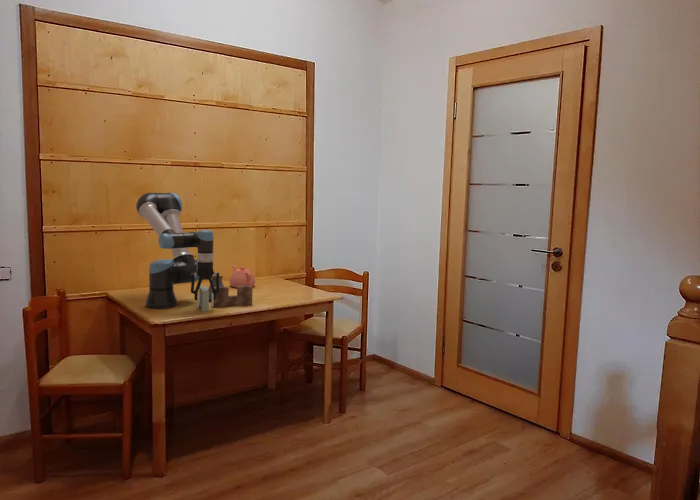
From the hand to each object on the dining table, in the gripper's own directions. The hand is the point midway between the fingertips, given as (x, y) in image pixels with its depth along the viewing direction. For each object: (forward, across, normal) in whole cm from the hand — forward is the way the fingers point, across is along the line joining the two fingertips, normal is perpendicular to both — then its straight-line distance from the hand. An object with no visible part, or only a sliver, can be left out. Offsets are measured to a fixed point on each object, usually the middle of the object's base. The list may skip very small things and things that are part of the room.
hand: (205, 306), depth 266 cm
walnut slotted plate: (+2, +15, +7) cm, 17 cm away
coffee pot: (+2, +8, +27) cm, 28 cm away
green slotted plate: (+2, 0, +5) cm, 5 cm away
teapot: (+2, +29, +56) cm, 63 cm away
